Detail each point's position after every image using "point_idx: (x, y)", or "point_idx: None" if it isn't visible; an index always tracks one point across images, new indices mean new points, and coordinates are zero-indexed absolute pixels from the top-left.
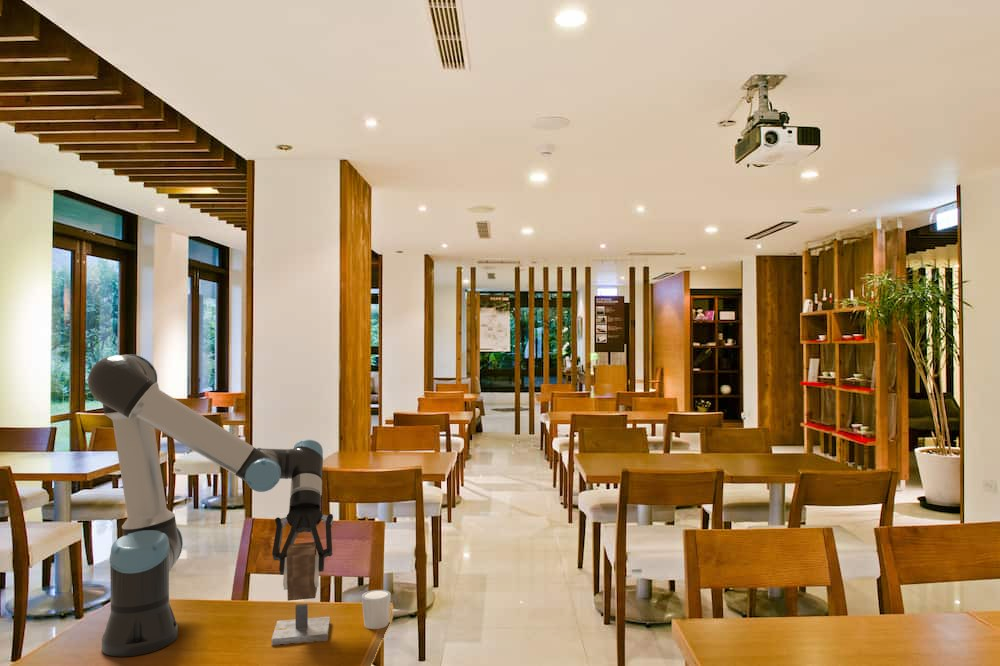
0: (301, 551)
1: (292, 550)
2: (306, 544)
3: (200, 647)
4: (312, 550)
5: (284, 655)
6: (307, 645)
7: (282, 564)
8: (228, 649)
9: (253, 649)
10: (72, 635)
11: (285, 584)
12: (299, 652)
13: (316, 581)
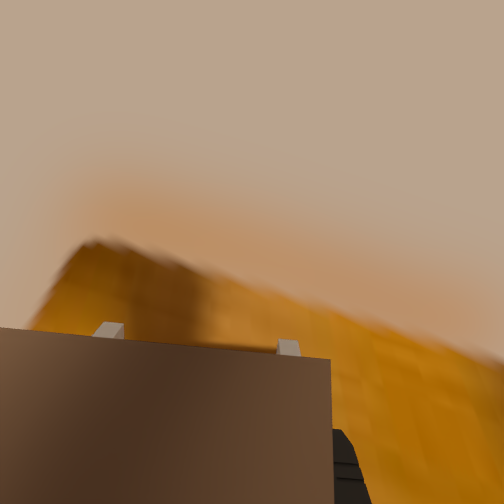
0: (148, 343)
1: (260, 390)
2: None
3: (500, 424)
4: (9, 332)
5: (259, 297)
6: (199, 339)
7: (341, 488)
8: (412, 382)
9: (343, 359)
10: None
11: (283, 342)
12: (222, 302)
13: (110, 322)
